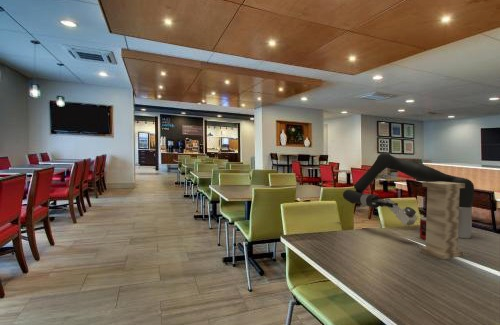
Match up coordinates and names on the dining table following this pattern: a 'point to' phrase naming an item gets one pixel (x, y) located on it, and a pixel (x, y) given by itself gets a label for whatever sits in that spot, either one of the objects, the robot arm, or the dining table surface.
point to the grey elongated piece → (403, 213)
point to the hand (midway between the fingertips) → (394, 205)
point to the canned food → (423, 228)
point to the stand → (442, 219)
